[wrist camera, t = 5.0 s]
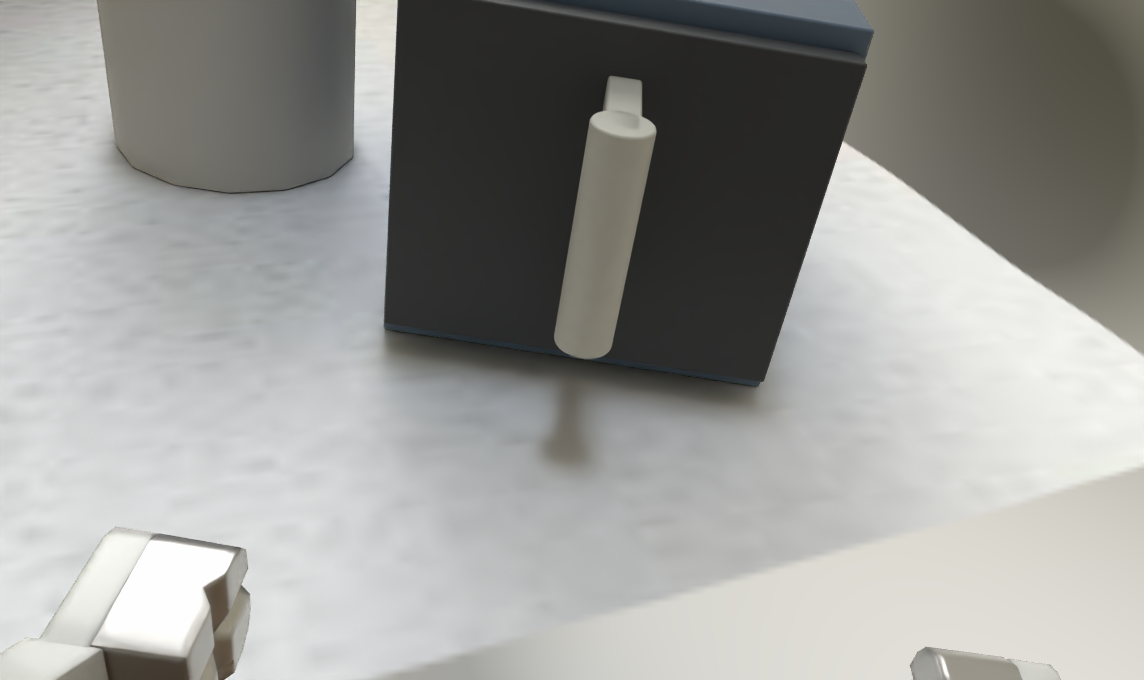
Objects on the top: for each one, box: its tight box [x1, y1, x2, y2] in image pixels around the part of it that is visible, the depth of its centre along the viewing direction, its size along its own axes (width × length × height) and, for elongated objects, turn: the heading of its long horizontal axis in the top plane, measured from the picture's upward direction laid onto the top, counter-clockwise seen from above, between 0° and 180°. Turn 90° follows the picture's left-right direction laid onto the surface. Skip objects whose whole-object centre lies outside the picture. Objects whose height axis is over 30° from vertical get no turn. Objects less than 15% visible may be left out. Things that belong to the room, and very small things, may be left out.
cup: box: [97, 0, 356, 193], centre depth 34 cm, size 8×8×10 cm
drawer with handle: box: [384, 0, 867, 382], centre depth 28 cm, size 17×11×9 cm, turn 177°
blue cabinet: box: [384, 0, 874, 386], centre depth 31 cm, size 14×11×10 cm
